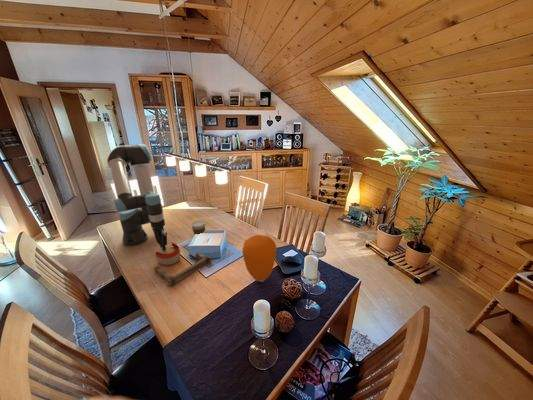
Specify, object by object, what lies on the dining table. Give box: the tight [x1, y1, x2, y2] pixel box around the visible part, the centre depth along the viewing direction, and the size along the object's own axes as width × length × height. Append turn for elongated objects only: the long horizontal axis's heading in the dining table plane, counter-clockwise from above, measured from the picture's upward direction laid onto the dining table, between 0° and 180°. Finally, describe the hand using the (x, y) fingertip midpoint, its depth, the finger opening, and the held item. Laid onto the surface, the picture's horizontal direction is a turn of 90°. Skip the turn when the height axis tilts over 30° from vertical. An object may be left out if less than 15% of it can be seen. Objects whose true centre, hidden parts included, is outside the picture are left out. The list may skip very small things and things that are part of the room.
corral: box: [153, 253, 212, 288], centre depth 128 cm, size 17×26×4 cm, turn 143°
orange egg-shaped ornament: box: [242, 234, 278, 283], centre depth 115 cm, size 17×17×25 cm
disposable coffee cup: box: [190, 220, 206, 235], centre depth 157 cm, size 10×10×12 cm
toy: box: [154, 242, 181, 267], centre depth 134 cm, size 12×10×8 cm
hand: (164, 254), depth 139 cm, fingers closed
